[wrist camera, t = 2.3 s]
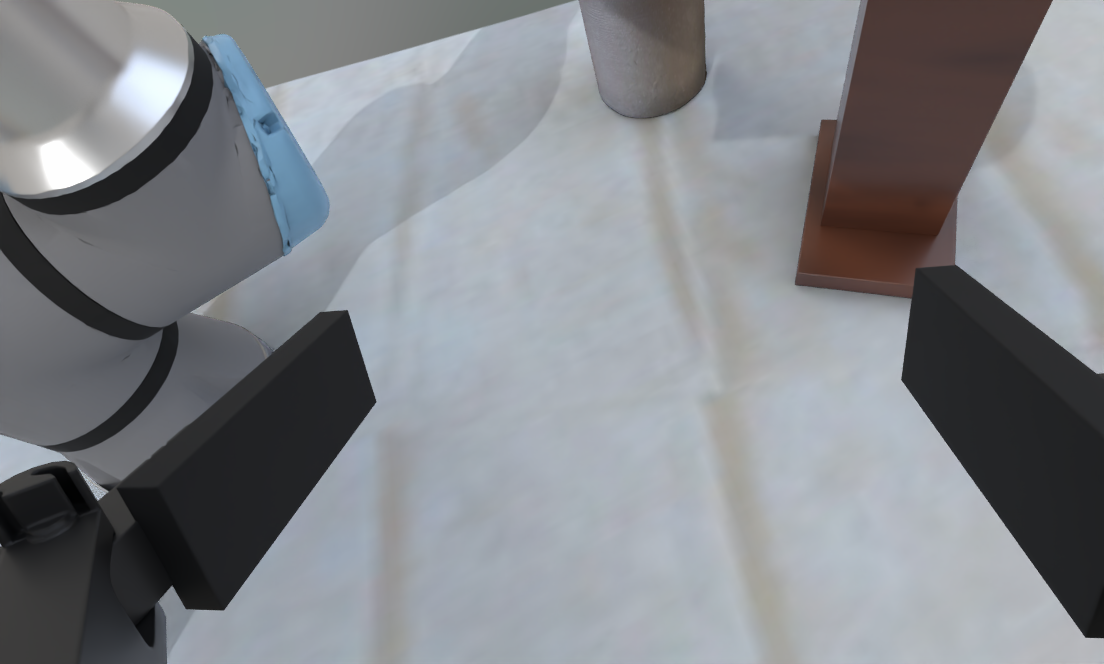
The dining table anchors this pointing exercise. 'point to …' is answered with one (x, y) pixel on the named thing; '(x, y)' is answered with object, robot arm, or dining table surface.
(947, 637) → the dining table surface
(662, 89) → the pillar candle
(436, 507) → the dining table surface
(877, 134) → the plant stand
